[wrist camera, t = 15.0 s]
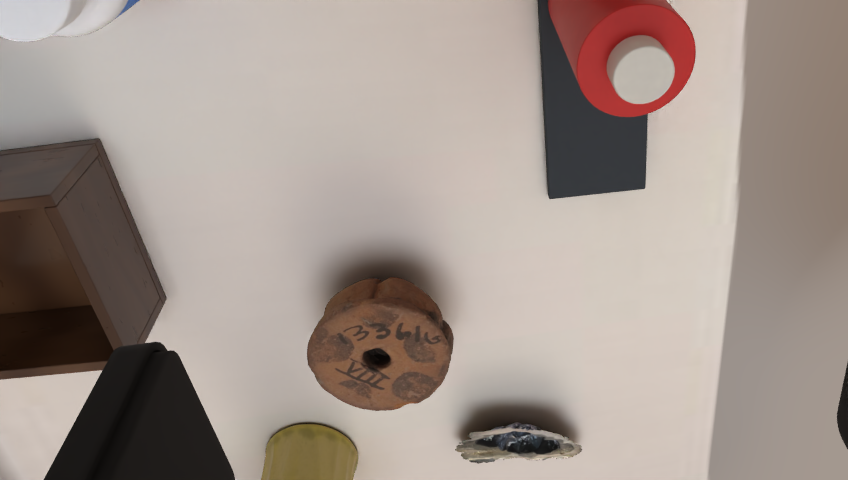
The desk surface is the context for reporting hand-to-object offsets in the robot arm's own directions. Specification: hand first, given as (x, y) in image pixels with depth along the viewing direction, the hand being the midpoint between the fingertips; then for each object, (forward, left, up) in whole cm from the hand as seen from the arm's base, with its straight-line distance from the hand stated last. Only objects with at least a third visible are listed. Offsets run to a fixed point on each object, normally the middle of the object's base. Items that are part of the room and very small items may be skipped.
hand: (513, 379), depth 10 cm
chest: (+11, -25, -26) cm, 37 cm away
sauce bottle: (+2, +5, -25) cm, 26 cm away
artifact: (+18, -6, -26) cm, 32 cm away
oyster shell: (+30, 0, -24) cm, 38 cm away
